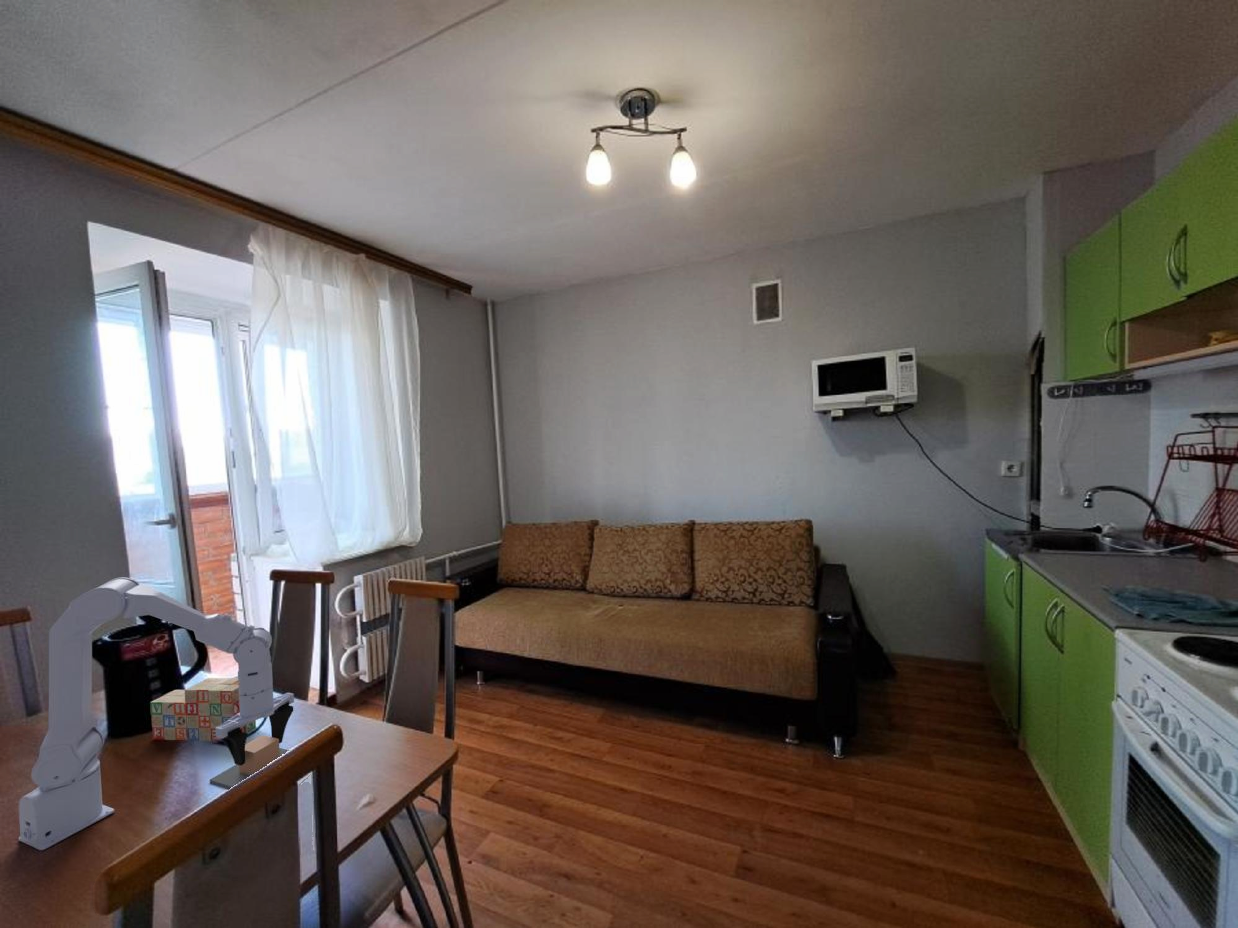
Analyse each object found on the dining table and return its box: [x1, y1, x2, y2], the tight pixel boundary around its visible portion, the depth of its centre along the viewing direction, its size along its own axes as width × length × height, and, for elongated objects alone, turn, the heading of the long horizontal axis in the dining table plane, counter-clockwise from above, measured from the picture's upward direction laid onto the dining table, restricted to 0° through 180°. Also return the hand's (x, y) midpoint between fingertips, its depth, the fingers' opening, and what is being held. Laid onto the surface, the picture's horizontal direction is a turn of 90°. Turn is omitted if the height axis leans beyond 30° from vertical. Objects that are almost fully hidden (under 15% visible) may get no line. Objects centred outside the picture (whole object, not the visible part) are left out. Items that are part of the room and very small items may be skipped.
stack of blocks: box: [149, 677, 257, 742], centre depth 117 cm, size 21×6×12 cm, turn 85°
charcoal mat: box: [209, 747, 289, 790], centre depth 102 cm, size 12×12×1 cm
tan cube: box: [239, 734, 280, 775], centre depth 102 cm, size 5×5×5 cm
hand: (259, 752), depth 102 cm, fingers open, 7 cm apart
